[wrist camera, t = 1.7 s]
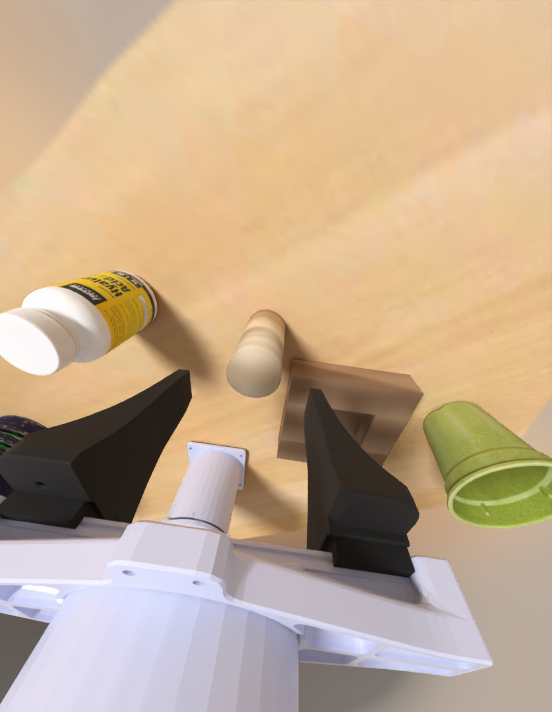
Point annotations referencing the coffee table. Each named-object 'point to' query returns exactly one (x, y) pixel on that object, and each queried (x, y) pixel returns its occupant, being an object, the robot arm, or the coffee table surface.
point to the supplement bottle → (75, 321)
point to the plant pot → (488, 469)
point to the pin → (258, 356)
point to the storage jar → (13, 440)
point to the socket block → (349, 406)
